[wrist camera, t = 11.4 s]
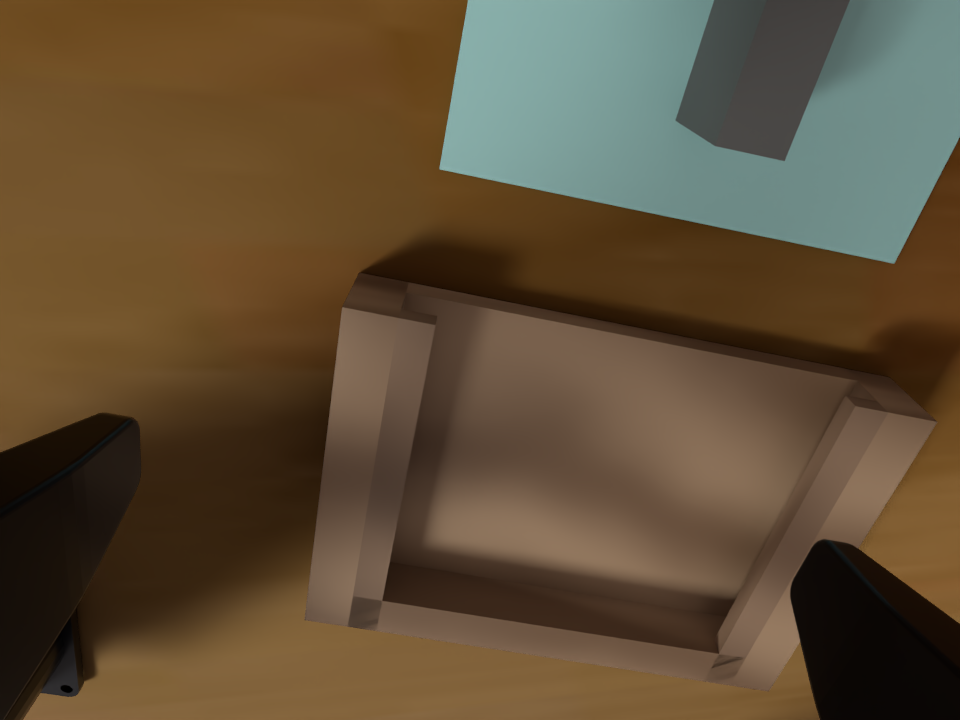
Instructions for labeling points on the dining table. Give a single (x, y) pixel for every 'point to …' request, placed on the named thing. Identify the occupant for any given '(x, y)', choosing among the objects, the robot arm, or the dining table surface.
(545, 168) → the cover plate
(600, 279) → the dining table surface
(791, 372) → the wooden tray
